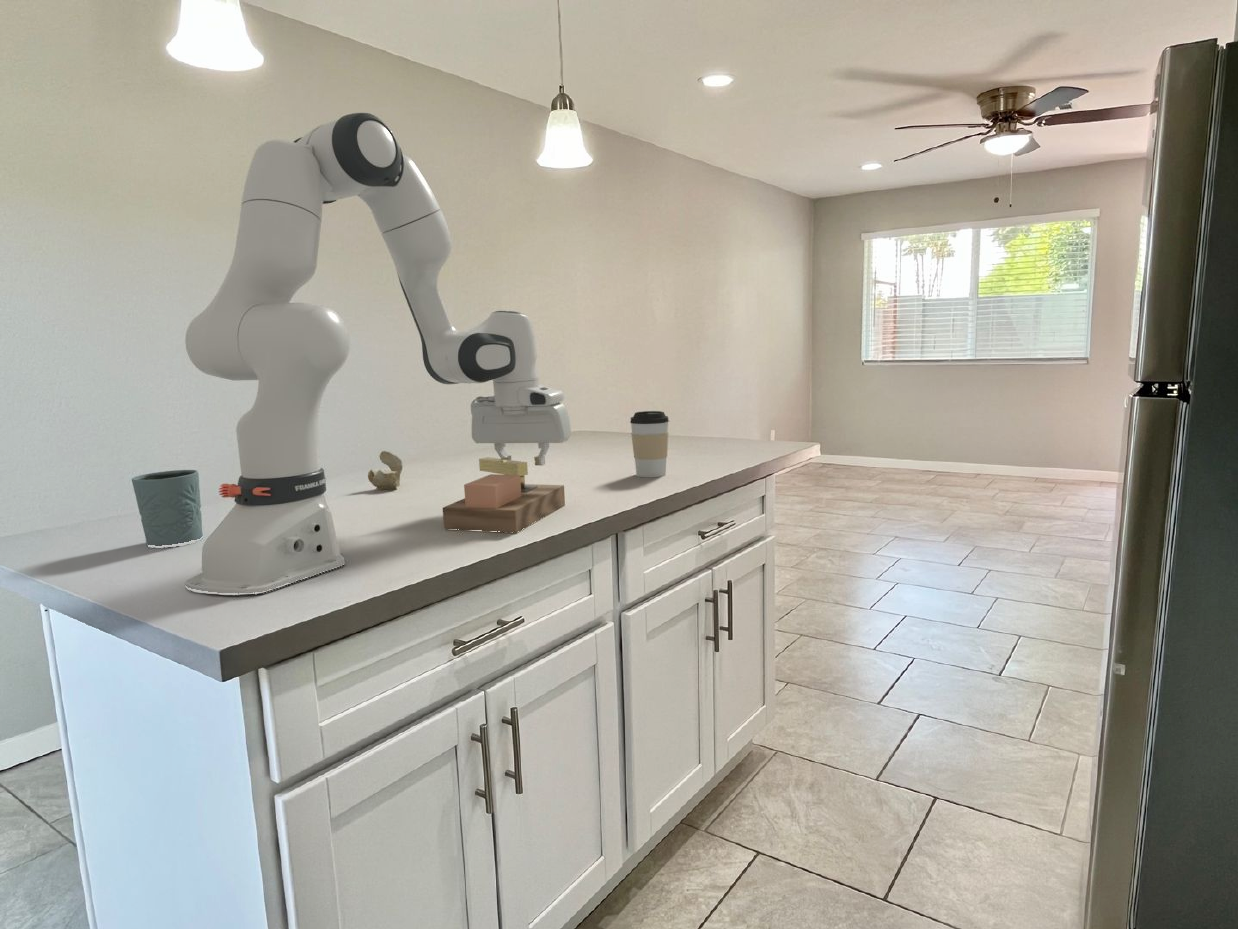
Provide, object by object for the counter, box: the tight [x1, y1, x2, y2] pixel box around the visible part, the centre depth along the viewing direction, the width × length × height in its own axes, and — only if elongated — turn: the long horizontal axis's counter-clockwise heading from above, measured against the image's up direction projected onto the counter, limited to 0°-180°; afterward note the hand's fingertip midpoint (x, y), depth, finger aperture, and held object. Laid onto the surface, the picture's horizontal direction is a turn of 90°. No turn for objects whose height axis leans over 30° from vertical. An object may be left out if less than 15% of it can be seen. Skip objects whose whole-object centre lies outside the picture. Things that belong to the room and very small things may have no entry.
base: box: [442, 483, 566, 534], centre depth 146 cm, size 22×14×4 cm, turn 162°
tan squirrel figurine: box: [367, 450, 403, 491], centre depth 178 cm, size 9×6×10 cm
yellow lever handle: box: [478, 456, 529, 488], centre depth 154 cm, size 12×2×5 cm, turn 47°
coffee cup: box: [629, 410, 670, 478], centre depth 182 cm, size 9×9×15 cm
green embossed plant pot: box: [131, 469, 204, 546], centre depth 136 cm, size 10×10×12 cm
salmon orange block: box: [463, 473, 521, 508], centre depth 140 cm, size 10×6×4 cm, turn 162°
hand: (523, 465), depth 155 cm, fingers open, 6 cm apart
